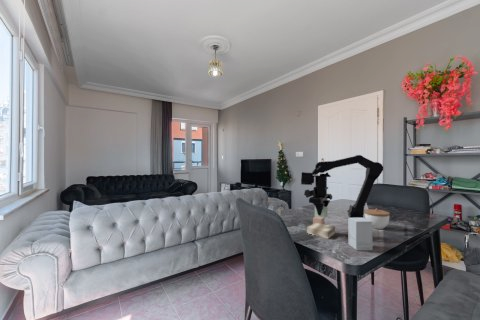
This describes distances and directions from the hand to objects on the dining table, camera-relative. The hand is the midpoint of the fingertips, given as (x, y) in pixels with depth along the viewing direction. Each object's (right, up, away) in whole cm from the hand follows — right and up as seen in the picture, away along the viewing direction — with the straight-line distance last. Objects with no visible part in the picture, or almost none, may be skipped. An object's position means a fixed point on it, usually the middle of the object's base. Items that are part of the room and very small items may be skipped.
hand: (321, 214), depth 117 cm
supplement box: (+11, -11, -18) cm, 24 cm away
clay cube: (+4, -10, +14) cm, 18 cm away
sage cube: (0, -1, 0) cm, 1 cm away
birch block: (0, -11, 0) cm, 11 cm away
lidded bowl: (+37, -11, +11) cm, 40 cm away
